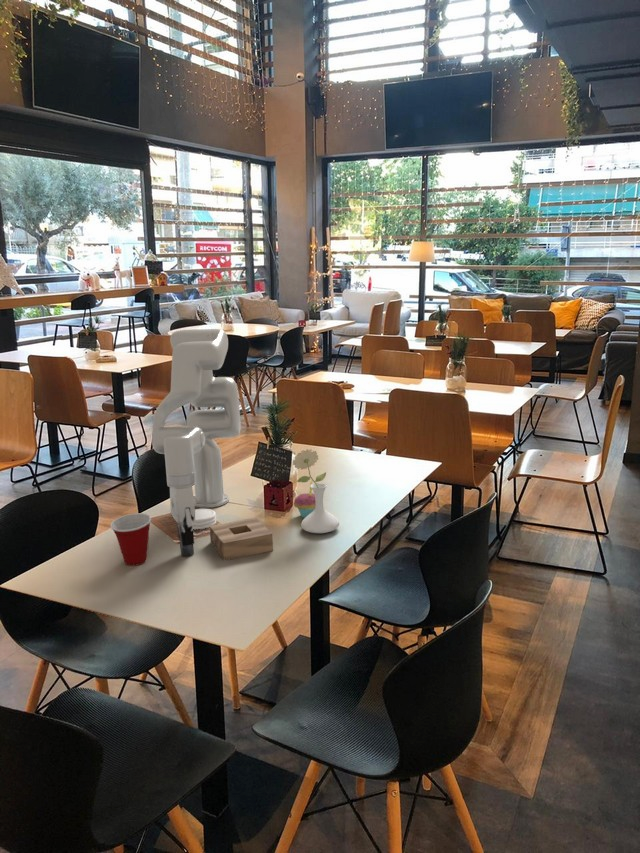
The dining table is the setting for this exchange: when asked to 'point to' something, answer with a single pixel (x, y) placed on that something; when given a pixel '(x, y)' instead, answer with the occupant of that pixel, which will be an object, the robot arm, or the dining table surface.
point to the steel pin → (185, 550)
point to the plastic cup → (132, 537)
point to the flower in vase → (319, 517)
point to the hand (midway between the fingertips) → (186, 541)
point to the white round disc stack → (204, 518)
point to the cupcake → (305, 503)
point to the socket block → (241, 538)
